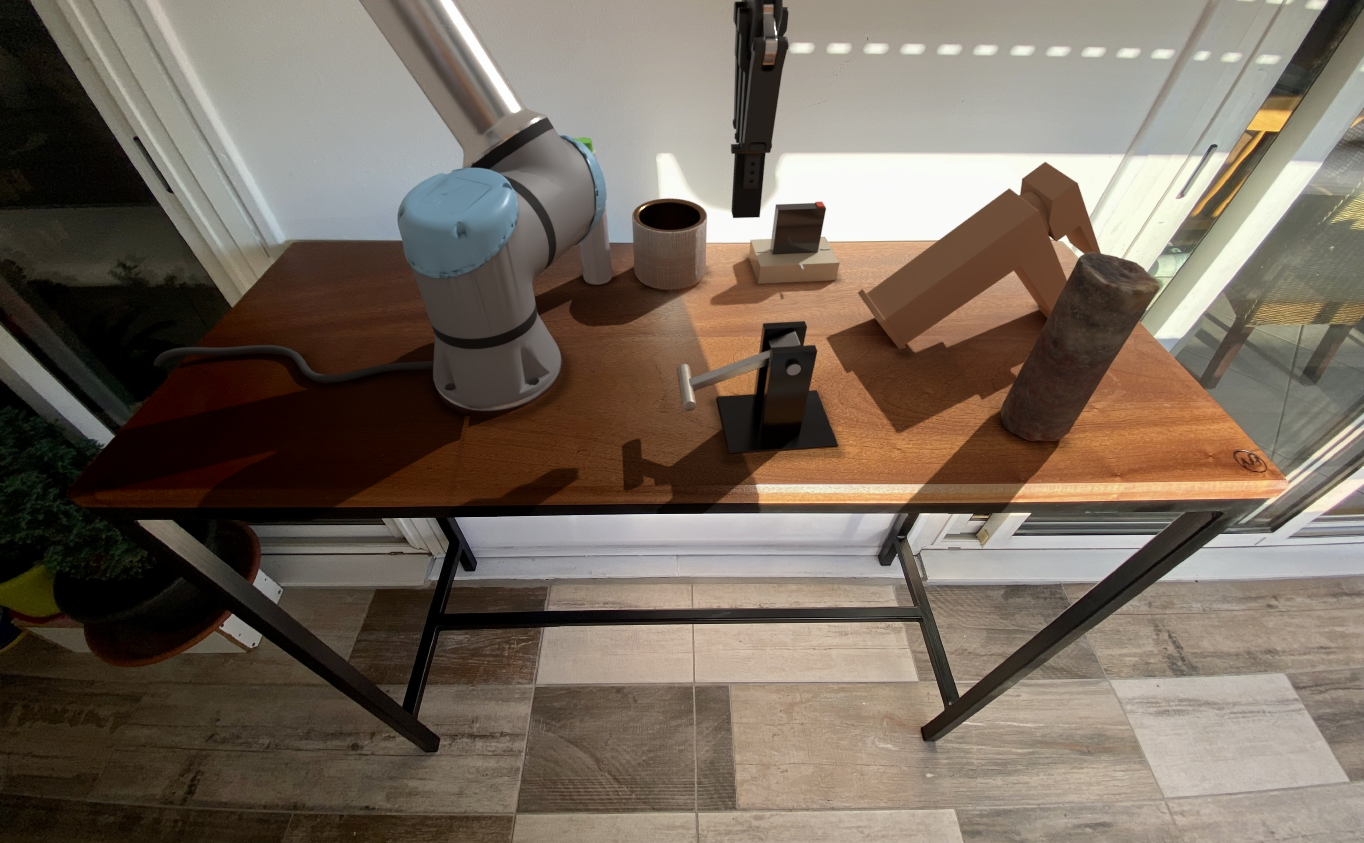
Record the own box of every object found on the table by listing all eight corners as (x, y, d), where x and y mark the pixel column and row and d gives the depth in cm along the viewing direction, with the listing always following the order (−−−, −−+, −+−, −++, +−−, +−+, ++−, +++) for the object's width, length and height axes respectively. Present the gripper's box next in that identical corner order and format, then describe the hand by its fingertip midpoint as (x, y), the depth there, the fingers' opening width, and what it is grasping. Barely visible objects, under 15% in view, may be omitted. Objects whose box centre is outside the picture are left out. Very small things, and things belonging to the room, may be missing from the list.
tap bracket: (728, 460, 64) (737, 369, 55) (716, 403, 71) (722, 313, 62) (836, 452, 65) (862, 361, 56) (815, 397, 72) (835, 307, 63)
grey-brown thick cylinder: (1002, 392, 73) (1081, 241, 59) (1068, 412, 70) (1166, 259, 56) (993, 432, 68) (1077, 278, 54) (1064, 454, 65) (1171, 299, 51)
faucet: (947, 410, 88) (1120, 303, 78) (879, 323, 73) (1080, 181, 64) (925, 379, 93) (1085, 275, 83) (857, 292, 78) (1040, 156, 69)
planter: (717, 266, 93) (720, 207, 86) (685, 300, 86) (686, 239, 79) (656, 249, 97) (655, 191, 90) (621, 281, 90) (616, 221, 83)
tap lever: (686, 416, 61) (678, 401, 60) (681, 378, 65) (673, 363, 64) (810, 373, 59) (805, 356, 57) (795, 337, 63) (790, 320, 61)
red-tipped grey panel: (772, 254, 90) (778, 208, 85) (770, 248, 91) (775, 202, 86) (817, 252, 90) (826, 206, 85) (814, 246, 92) (823, 201, 86)
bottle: (597, 266, 93) (583, 131, 79) (618, 275, 91) (607, 139, 77) (577, 278, 90) (559, 141, 76) (598, 288, 88) (583, 149, 74)
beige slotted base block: (760, 289, 88) (762, 270, 86) (746, 251, 96) (748, 233, 94) (838, 285, 89) (843, 267, 87) (819, 248, 97) (822, 230, 95)
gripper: (839, -83, 40) (794, 244, 56) (800, -98, 49) (771, 186, 65) (726, -82, 39) (714, 247, 56) (709, -97, 49) (703, 188, 65)
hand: (745, 214), depth 61 cm, fingers closed
